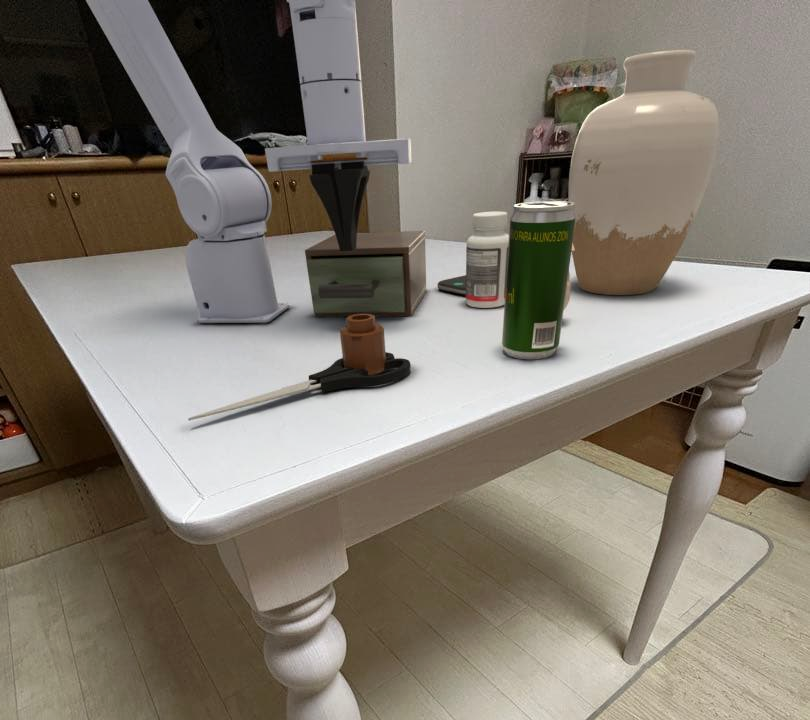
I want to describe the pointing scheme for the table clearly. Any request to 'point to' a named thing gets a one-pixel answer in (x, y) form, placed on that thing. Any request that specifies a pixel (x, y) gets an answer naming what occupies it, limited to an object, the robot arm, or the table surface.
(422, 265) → the cabinet
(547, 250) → the beer can
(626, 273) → the vase
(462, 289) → the smartphone
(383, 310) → the drawer
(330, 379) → the scissors
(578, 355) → the table surface
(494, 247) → the pill bottle
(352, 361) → the spice bottle
